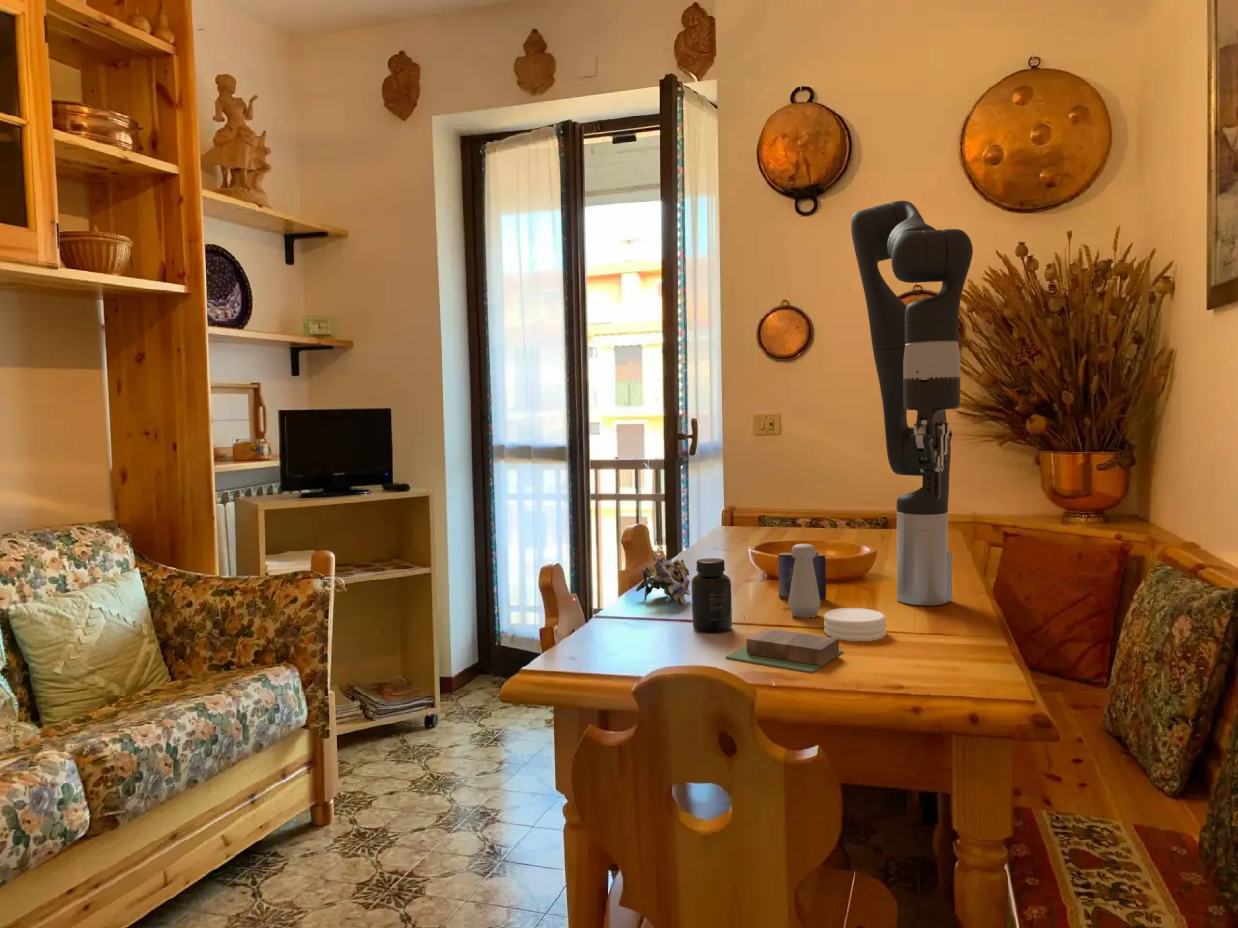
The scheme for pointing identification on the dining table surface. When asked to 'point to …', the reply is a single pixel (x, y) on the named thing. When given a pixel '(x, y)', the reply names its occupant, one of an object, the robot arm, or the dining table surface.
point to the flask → (787, 572)
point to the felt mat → (775, 661)
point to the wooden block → (793, 646)
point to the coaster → (855, 624)
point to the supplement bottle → (711, 597)
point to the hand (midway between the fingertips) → (931, 498)
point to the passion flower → (667, 579)
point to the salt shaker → (804, 583)
